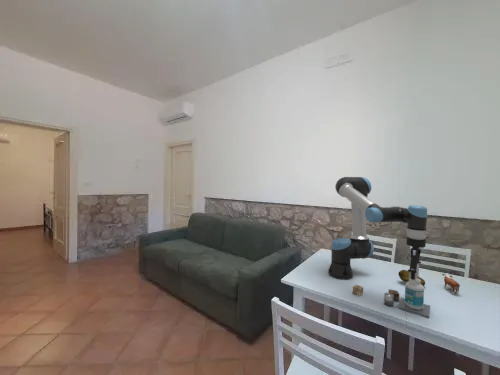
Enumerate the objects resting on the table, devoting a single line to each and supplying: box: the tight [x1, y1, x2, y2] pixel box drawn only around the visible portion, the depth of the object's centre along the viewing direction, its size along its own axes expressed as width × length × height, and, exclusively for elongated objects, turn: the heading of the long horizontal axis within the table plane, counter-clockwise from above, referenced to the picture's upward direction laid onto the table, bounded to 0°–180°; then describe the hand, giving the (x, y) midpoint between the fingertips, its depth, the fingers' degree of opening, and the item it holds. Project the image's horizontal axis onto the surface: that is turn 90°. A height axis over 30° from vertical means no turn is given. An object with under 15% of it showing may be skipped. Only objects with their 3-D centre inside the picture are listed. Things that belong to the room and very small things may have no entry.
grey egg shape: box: [383, 292, 395, 308], centre depth 116 cm, size 4×4×5 cm
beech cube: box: [351, 284, 364, 297], centre depth 127 cm, size 4×4×4 cm
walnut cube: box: [388, 289, 400, 302], centre depth 121 cm, size 4×4×4 cm
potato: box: [397, 269, 426, 287], centre depth 139 cm, size 8×13×8 cm, turn 43°
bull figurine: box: [441, 272, 460, 295], centre depth 132 cm, size 4×13×8 cm, turn 161°
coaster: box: [397, 297, 431, 319], centre depth 113 cm, size 12×12×1 cm
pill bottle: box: [404, 278, 425, 310], centre depth 113 cm, size 8×7×14 cm
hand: (413, 280), depth 113 cm, fingers open, 13 cm apart
